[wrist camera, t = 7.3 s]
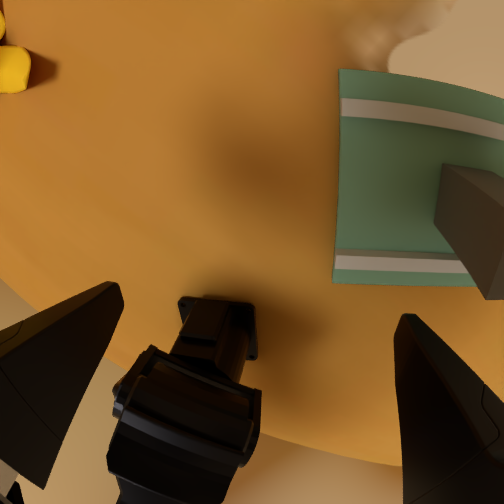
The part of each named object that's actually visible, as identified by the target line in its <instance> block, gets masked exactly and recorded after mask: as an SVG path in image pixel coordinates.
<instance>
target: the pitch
mask: <svg viewBox="0 0 504 504" xmlns="http://www.w3.org/2000/svg"><path fill="white" fill-rule="evenodd" d="M338 78H339V178H338V201H337V219H336V234H335V247H334V259H333V270H332V283H343V284H370V285H405V286H466V287H477V285H476V284H475V282H474V280H473V279H472V277H471V276H470V274H469V273H468V271H467V270H466V268H465V267H464V265H463V264H462V262H461V261H460V259H459V258H458V256H457V255H456V254H455V252H454V251H453V249H452V248H451V247H450V245H449V244H448V242H447V241H446V240H445V238H444V237H443V236H442V234H441V233H440V232H439V230H438V229H437V228H436V226H435V225H434V224H433V222H434V217H435V211H436V205H437V199H438V193H439V186H440V178H441V170H442V163H445V164H452V165H458V166H464V167H470V168H476V169H482V170H487V171H492V172H494V173H495V174H497V175H499V176H500V177H502V178H503V179H504V99H502V98H499V97H496V96H493V95H489V94H486V93H483V92H479V91H476V90H472V89H468V88H464V87H461V86H456V85H452V84H448V83H443V82H439V81H433V80H428V79H423V78H417V77H411V76H405V75H399V74H392V73H384V72H375V71H365V70H352V69H339V70H338Z"/></svg>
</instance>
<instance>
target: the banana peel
mask: <svg viewBox="0 0 504 504" xmlns="http://www.w3.org/2000/svg"><path fill="white" fill-rule="evenodd" d="M5 30H6V28H5V18H4V15H3V14H2V12H1V10H0V40H1V38H2V37H3V35H4V33H5ZM30 69H31V59H30V55H29V53H28V52H27V50H26V49H25V48H24V47H18V46H16V45H12V46H0V93H6V94H7V93H14V94H15V93H18V92H22V91H24V90H26V88H27V84H28V79H29V74H30Z"/></svg>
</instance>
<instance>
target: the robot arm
mask: <svg viewBox="0 0 504 504" xmlns="http://www.w3.org/2000/svg"><path fill="white" fill-rule="evenodd" d="M183 303H184V304H183ZM178 308H179V312H180V315H181V319H182V323H183V326H182V328H181V330H180V332H179V335H178V337H177V339H176V341H175V343H174V345H173V347H172V349H171V351H170V353H169V354H168V353H166V352H164V351H161V350H159V349H157V348H158V347H156V346H154V345H152V344H151V345H150V346H149V347H148V349H147V350H146V351H143V352H142V354H140V355H139V357H138V358H137V360H136V362H135V363H134V365H133V366H132V367H131V369H130V370H129V371H128V373H127V374H126V375H124V376H123V377H122V378H121V379H120V380H119V381H118V382H117V383H116V384H115V385H114V387H113V390H112V392H113V395H114V398H115V401H114V407H113V414H112V415H113V417H116V418H117V419H119V420H118V423H117V426H116V428H115V431H114V433H113V436H112V439H111V442H110V444H109V450H108V453H107V455H106V459H107V466H108V471H109V473H111V474H113V475H115V476H116V479H117V482H118V486H119V489H120V495H119V498H118V500H117V502H116V504H221V503H222V502H223V501H224V498H225V496H226V493H227V490H228V488H229V485H230V482H231V480H232V478H233V476H234V474H235V472H236V470H237V468H238V467H240V468H242V467H244V466H245V465H246V464H247V462H248V461H249V459H250V457H251V455H252V454H253V452H254V449H255V447H256V444H257V441H258V437H259V433H260V421H261V397H262V391H261V390H258V389H256V388H254V389H252V388H250V387H247V386H244V385H241V384H239V382H240V378H241V375H242V371H243V367H244V364H245V360H256V359H257V357H258V346H257V331H256V316H255V307H254V306H253V305H252V304H250V303H240V302H227V301H216V300H205V299H194V298H184V297H183V298H180V300H179V301H178ZM123 309H124V300H123V297H122V293H121V290H120V286H119V284H118V283H116V282H111V281H106V282H104V283H102V284H99V285H97V286H95V287H93V288H91V289H88V290H86V291H84V292H82V293H80V294H77V295H75V296H73V297H71V298H69V299H67V300H64V301H62V302H60V303H58V304H56V305H54V306H52V307H50V308H47V309H45V310H43V311H41V312H39V313H37V314H35V315H33V316H31V317H29V318H27V319H25V320H22V321H20V322H18V323H16V324H14V325H12V326H10V327H8V328H5V329H3V330H1V331H0V504H24V501H23V497H22V493H21V489H20V485H19V483H18V482H16V481H15V479H16V478H17V476H18V474H20V475H22V476H23V477H25V478H26V479H28V480H29V481H30V482H32V483H33V484H35V485H36V486H38V487H39V488H41V489H42V490H44V488H45V486H46V483H47V481H48V478H49V475H50V473H51V470H52V468H53V465H54V463H55V460H56V458H57V455H58V453H59V450H60V448H61V445H62V442H63V440H64V438H65V435H66V433H67V431H68V428H69V426H70V424H71V422H72V419H73V417H74V415H75V413H76V410H77V408H78V406H79V404H80V402H81V399H82V398H83V395H84V393H85V391H86V389H87V387H88V385H89V383H90V380H91V379H92V377H93V375H94V373H95V371H96V369H97V367H98V365H99V363H100V361H101V359H102V357H103V355H104V353H105V351H106V349H107V347H108V345H109V343H110V340H111V338H112V336H113V333H114V331H115V328H116V326H117V323H118V321H119V319H120V316H121V314H122V311H123ZM247 309H250V310H247ZM394 362H395V387H396V395H397V404H398V413H399V423H400V435H401V449H402V469H403V504H504V403H503V402H502V401H501V400H500V399H499V397H498V396H497V395H496V394H495V393H494V392H493V391H492V390H491V389H490V388H489V387H488V386H487V385H486V384H484V382H483V381H482V380H481V379H480V377H479V376H478V375H477V374H476V373H475V372H474V371H473V370H472V369H471V368H470V367H469V366H468V365H467V364H466V363H465V362H464V361H463V360H462V359H461V358H460V357H459V356H458V355H457V354H456V353H455V352H454V351H453V350H452V349H451V348H450V347H449V346H448V345H447V344H446V343H445V342H444V341H443V340H442V339H441V338H440V337H439V336H438V335H437V334H436V333H435V332H434V331H433V330H432V329H431V328H430V327H429V326H428V325H427V324H425V323H424V322H423V321H422V320H421V319H420V318H419V317H418V316H417V315H416V314H408V313H404V314H402V316H401V318H400V320H399V323H398V326H397V328H396V331H395V334H394Z"/></svg>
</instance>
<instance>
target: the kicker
mask: <svg viewBox="0 0 504 504" xmlns="http://www.w3.org/2000/svg"><path fill="white" fill-rule="evenodd" d="M433 224H434V225H435V226H436V228H437V229H438V230H439V232H440V233H441V234H442V236H443V237H444V238H445V240H446V241H447V242H448V244H449V245H450V247H451V248H452V249H453V251H454V252H455V254H456V255H457V256H458V258H459V259H460V261H461V262H462V264H463V265H464V267H465V268H466V270H467V271H468V273H469V274H470V276H471V277H472V279H473V280H474V282H475V284H476V285H477V287H478V288H479V290H480V292H481V293H482V295H483V297H484V298H485V300H504V179H503V178H502V177H500V176H499V175H497V174H495V173H494V172H492V171H487V170H482V169H476V168H470V167H464V166H458V165H452V164H445V163H442V170H441V178H440V186H439V193H438V199H437V205H436V211H435V217H434V222H433Z"/></svg>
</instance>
